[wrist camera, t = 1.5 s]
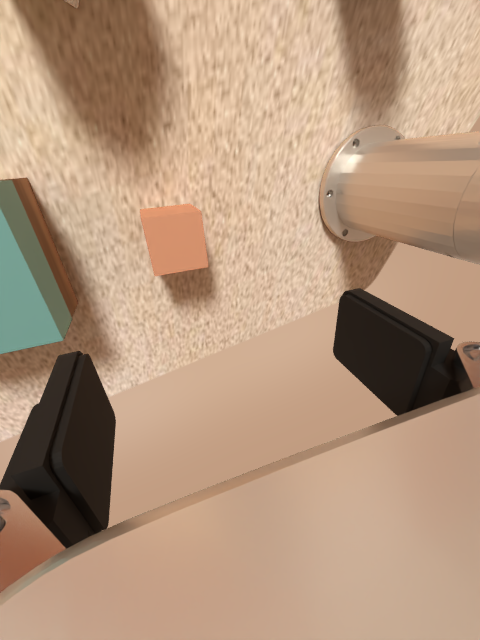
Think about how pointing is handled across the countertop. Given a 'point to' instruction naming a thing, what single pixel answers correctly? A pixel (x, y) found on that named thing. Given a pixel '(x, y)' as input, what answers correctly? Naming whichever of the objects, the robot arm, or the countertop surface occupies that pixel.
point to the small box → (73, 3)
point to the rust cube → (174, 238)
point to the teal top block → (26, 282)
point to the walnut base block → (45, 241)
